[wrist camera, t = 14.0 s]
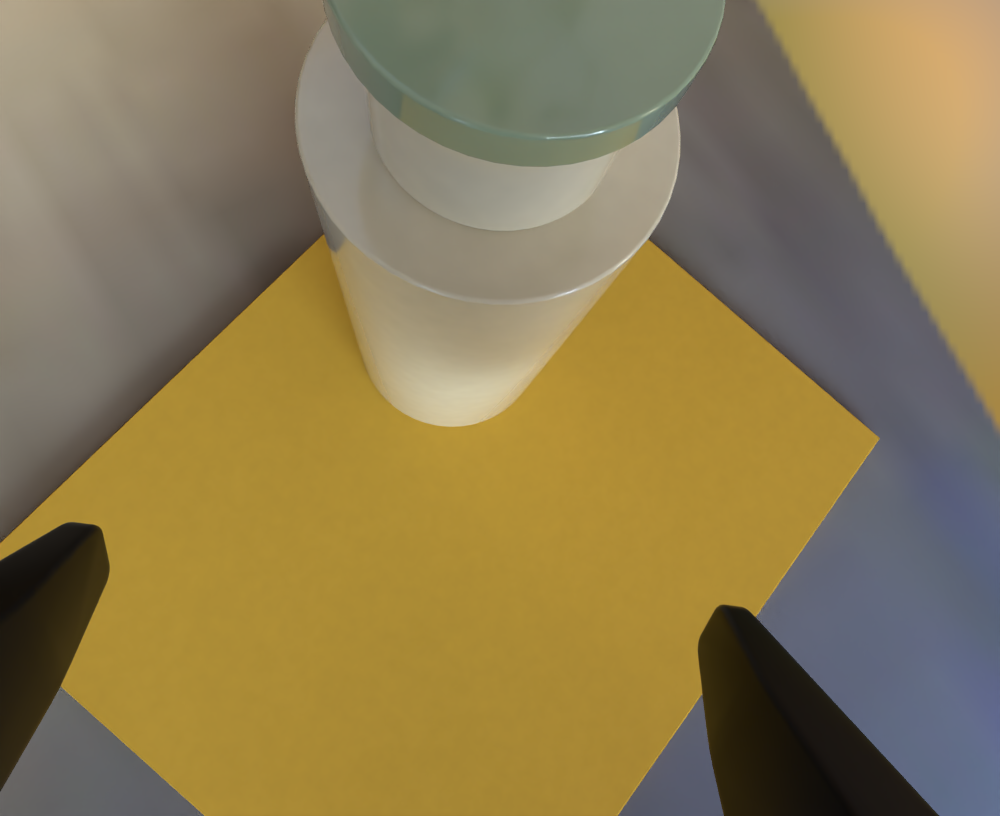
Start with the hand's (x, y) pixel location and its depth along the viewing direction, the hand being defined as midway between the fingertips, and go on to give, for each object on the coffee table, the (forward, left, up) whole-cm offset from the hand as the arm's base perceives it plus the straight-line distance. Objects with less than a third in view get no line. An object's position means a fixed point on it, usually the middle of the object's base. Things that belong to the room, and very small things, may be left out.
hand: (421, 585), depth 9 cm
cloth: (+2, 0, -8) cm, 8 cm away
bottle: (+5, +3, -8) cm, 10 cm away
